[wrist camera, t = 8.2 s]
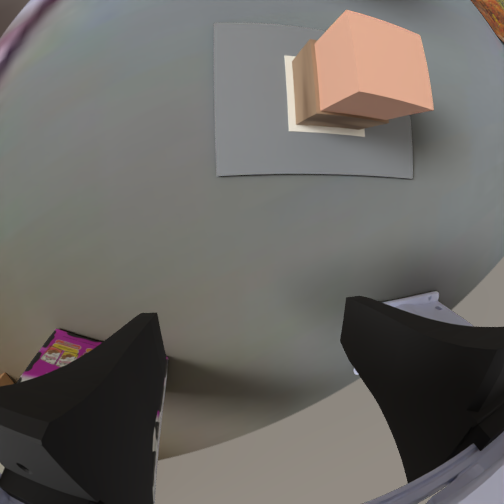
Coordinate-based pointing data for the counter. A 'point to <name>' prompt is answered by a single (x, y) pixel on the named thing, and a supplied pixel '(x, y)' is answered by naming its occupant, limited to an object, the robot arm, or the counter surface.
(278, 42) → the mat
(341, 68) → the terracotta block
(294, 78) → the walnut block
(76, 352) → the candy bar box
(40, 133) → the counter surface
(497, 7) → the tin
